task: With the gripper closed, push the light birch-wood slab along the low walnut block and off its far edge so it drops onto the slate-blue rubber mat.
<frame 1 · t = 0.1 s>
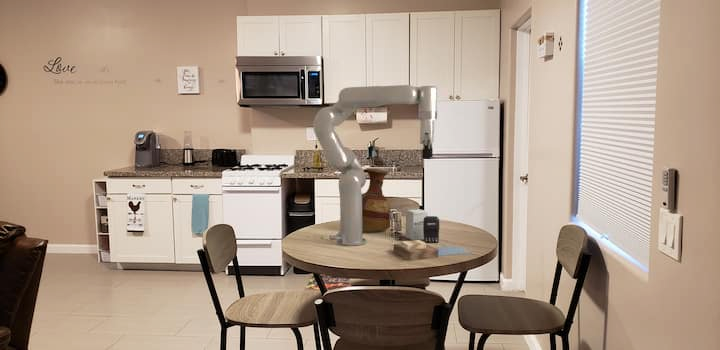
hand: (427, 158, 227), 37 cm above the table, tool pointing down, fingers open, 9 cm apart
rubber mat: (446, 251, 223), on the table
brown vase: (370, 230, 265), on the table
walnut block: (415, 254, 218), on the table
birch slab: (413, 244, 217), point 4 cm above the table, touching walnut block
supplement box: (416, 238, 247), on the table
battery: (431, 242, 238), on the table
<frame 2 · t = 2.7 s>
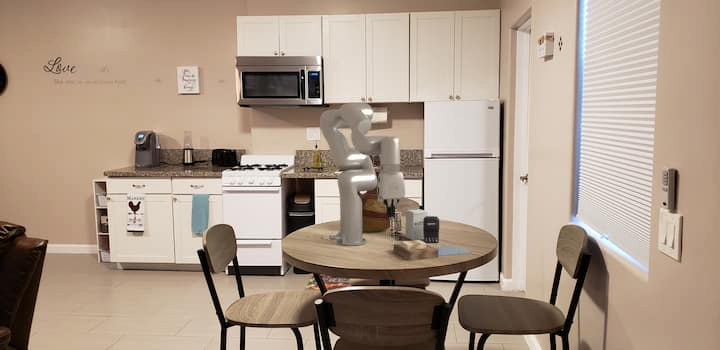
hand: (390, 216, 211), 16 cm above the table, tool pointing down, fingers closed
nothing on the table moved.
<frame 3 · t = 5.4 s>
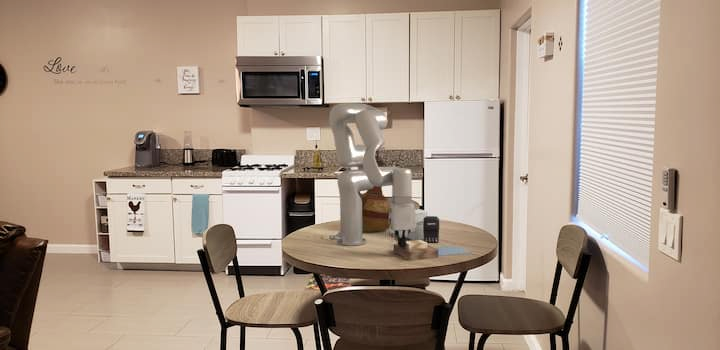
hand: (401, 246, 215), 4 cm above the table, tool pointing down, fingers closed
nothing on the table moved.
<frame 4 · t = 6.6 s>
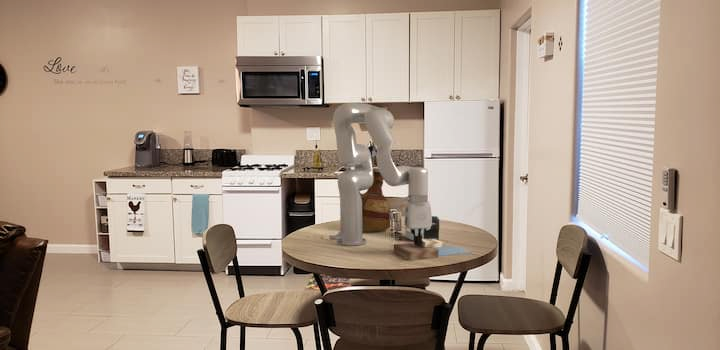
hand: (417, 244, 218), 4 cm above the table, tool pointing down, fingers closed
birch slab: (429, 243, 220), point 4 cm above the table, tilted 6°
everything else where it was.
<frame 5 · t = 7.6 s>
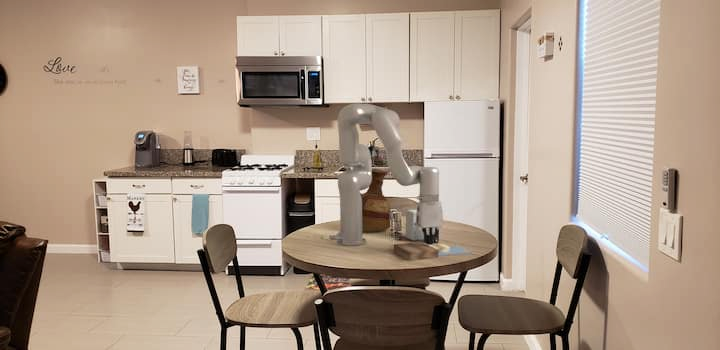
hand: (429, 243, 219), 4 cm above the table, tool pointing down, fingers closed
birch slab: (437, 248, 222), point 1 cm above the table, touching rubber mat
everything else where it was.
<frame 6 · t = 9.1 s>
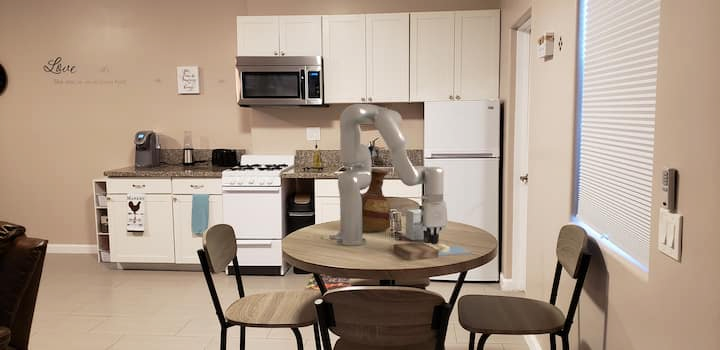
hand: (433, 243, 220), 4 cm above the table, tool pointing down, fingers closed
nothing on the table moved.
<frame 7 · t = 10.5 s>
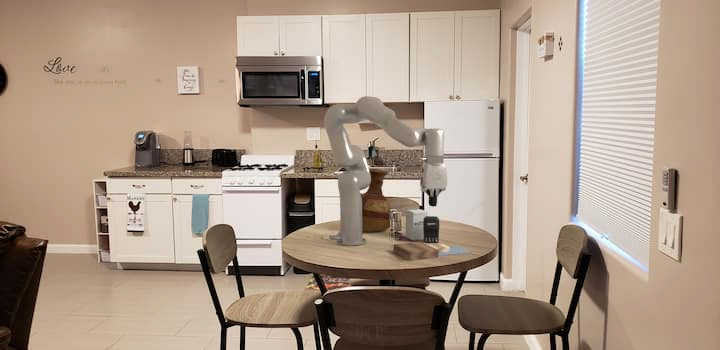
hand: (432, 205, 219), 19 cm above the table, tool pointing down, fingers closed
nothing on the table moved.
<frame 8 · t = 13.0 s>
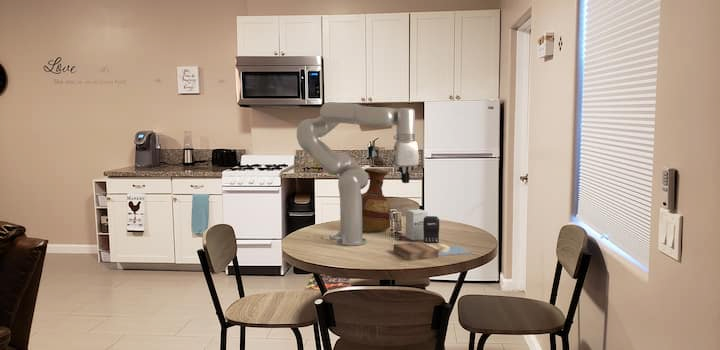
hand: (405, 182, 228), 27 cm above the table, tool pointing down, fingers closed
nothing on the table moved.
at the end: birch slab inside the target area (5.2 cm from its centre), point 1.3 cm above the table; birch slab moved 11.4 cm from its start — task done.
